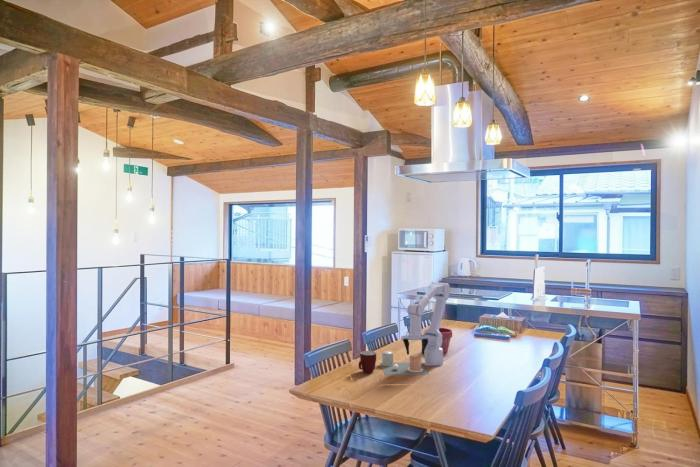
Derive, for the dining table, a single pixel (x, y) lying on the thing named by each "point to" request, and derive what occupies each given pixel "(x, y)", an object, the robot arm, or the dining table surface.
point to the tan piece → (415, 362)
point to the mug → (367, 361)
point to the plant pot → (445, 338)
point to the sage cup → (387, 358)
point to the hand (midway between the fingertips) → (415, 354)
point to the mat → (402, 370)
